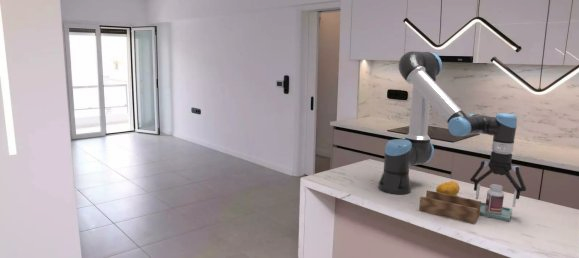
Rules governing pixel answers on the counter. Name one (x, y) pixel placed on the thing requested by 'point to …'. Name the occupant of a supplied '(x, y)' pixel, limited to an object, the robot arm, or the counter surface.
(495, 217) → the tray
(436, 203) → the wooden shelf
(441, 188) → the potato
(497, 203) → the pill bottle
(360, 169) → the counter surface
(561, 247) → the counter surface
